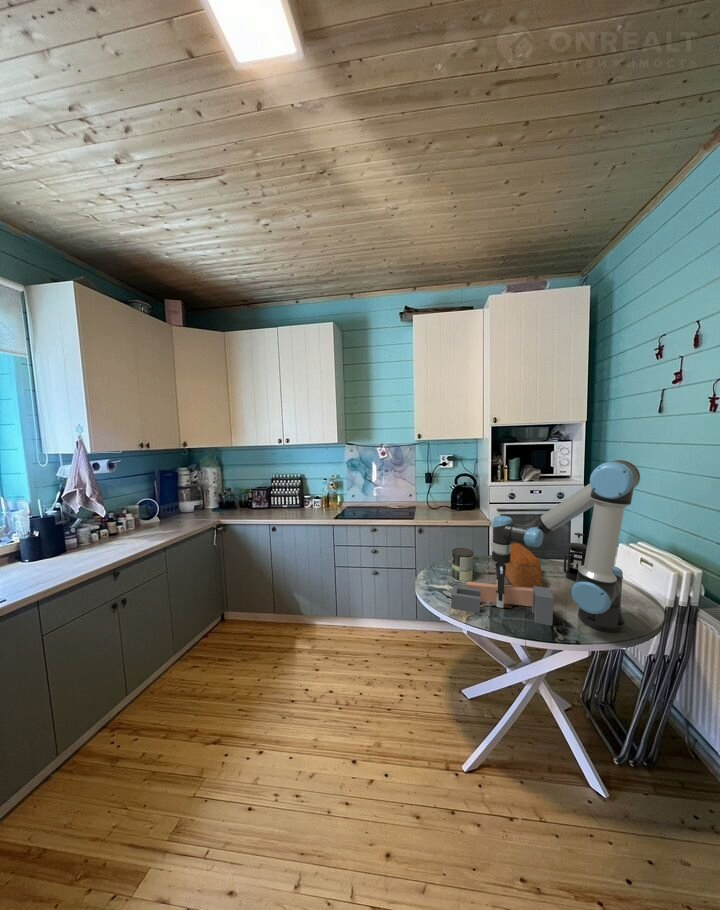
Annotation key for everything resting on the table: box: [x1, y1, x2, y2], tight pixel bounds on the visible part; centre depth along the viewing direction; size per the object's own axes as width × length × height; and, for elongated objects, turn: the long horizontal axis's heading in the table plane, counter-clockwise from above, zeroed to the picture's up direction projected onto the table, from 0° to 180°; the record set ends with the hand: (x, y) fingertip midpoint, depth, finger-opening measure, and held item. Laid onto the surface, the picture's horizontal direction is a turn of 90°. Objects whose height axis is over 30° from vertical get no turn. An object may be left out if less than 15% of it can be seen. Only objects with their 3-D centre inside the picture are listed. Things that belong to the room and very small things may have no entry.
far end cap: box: [450, 585, 481, 614], centre depth 150 cm, size 12×9×6 cm
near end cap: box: [531, 586, 555, 627], centre depth 140 cm, size 6×9×11 cm, turn 160°
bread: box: [505, 542, 544, 588], centre depth 178 cm, size 14×27×15 cm, turn 176°
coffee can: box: [451, 547, 474, 584], centre depth 176 cm, size 10×10×14 cm
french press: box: [562, 532, 588, 582], centre depth 177 cm, size 12×9×23 cm
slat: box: [465, 581, 533, 607], centre depth 154 cm, size 28×3×7 cm, turn 77°
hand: (499, 600), depth 154 cm, fingers open, 11 cm apart
